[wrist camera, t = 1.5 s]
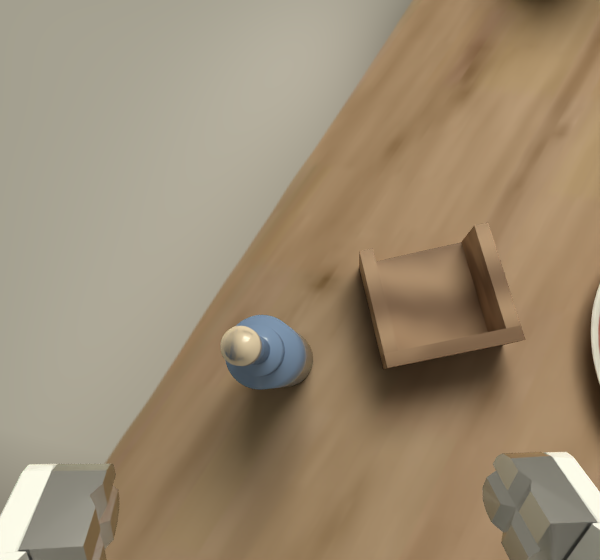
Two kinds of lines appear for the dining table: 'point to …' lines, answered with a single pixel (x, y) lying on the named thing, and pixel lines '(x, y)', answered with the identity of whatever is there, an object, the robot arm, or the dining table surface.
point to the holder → (440, 300)
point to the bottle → (266, 353)
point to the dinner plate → (596, 333)
